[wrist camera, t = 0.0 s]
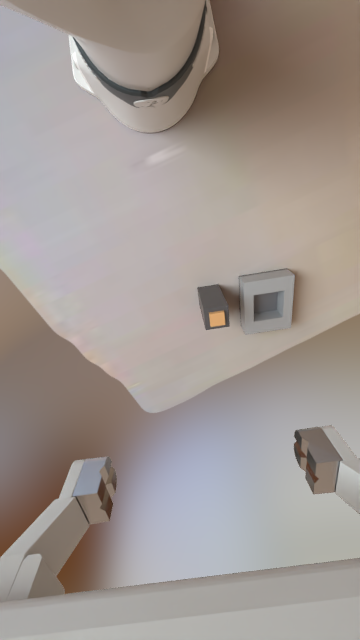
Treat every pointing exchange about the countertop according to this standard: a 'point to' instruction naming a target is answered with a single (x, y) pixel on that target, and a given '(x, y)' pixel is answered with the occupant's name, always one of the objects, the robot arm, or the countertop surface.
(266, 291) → the socket plate
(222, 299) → the plug
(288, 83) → the countertop surface
